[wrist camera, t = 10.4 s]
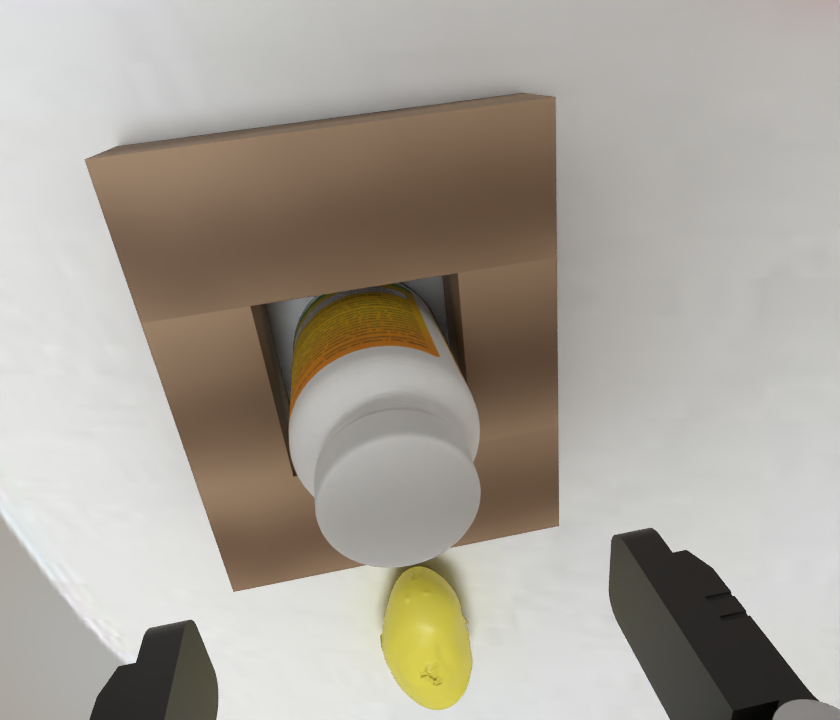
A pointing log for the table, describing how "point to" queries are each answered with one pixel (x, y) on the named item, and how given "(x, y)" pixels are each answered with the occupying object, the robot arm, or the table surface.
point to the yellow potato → (427, 639)
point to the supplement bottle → (382, 427)
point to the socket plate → (335, 272)
